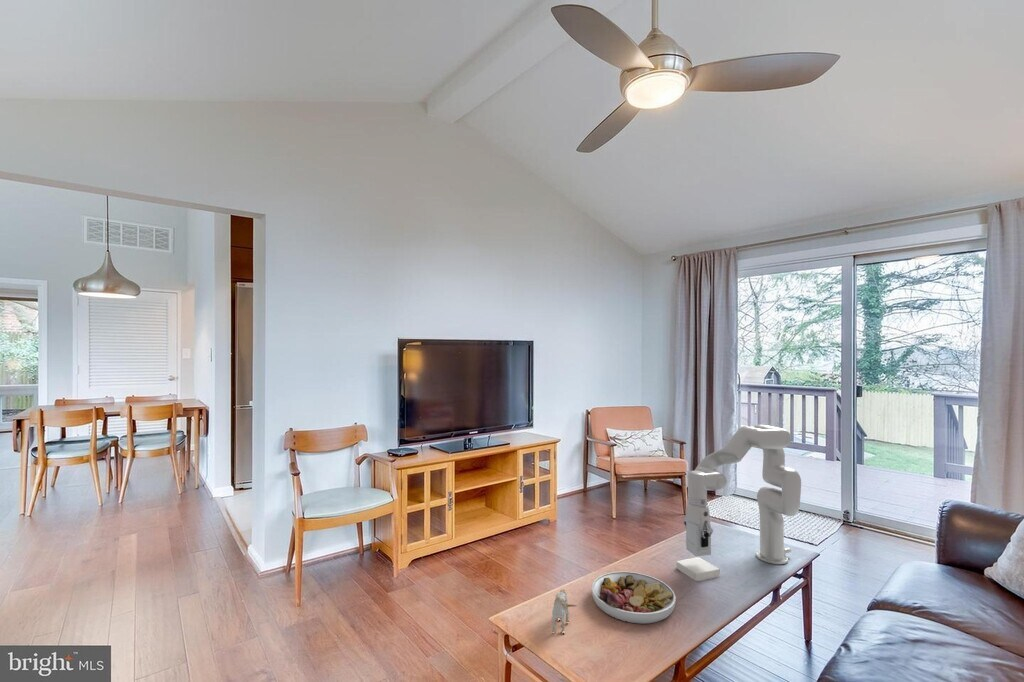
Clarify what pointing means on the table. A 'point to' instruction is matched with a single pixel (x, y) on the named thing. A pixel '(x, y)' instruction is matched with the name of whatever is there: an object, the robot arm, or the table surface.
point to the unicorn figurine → (560, 609)
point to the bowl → (633, 597)
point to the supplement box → (696, 540)
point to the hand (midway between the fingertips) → (697, 542)
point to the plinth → (697, 568)
